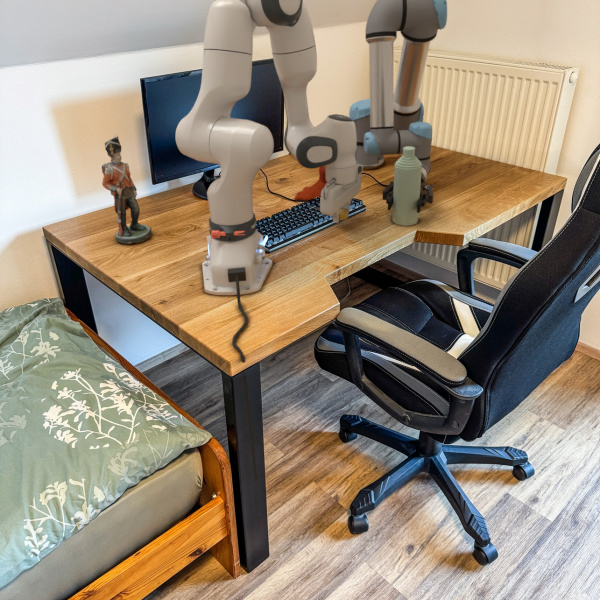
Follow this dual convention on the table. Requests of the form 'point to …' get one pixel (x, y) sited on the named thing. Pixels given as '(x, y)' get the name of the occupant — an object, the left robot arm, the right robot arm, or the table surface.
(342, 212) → the cap
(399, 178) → the bottle
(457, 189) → the table surface
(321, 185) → the toy
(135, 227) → the figurine
